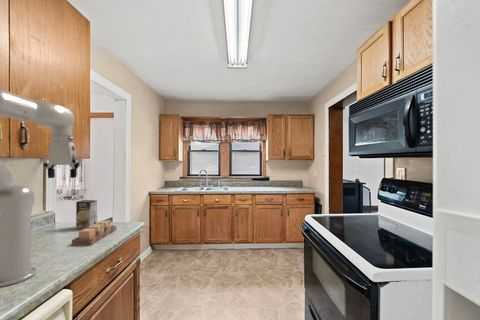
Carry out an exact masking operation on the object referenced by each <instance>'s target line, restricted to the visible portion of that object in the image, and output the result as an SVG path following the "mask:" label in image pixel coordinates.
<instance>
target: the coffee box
mask: <svg viewBox="0 0 480 320" xmlns="http://www.w3.org/2000/svg"><path fill="white" fill-rule="evenodd" d="M75 209H76V212H75V213H76V214H75V220H76V222H75V224H76V226H75V229H77V230H83V229H87V228H89V226H92V225H94V224H97V223H98V200H96V199H95V200H94V199H92V200H91V199H87V200H86V199H82V200H78V201H76V206H75Z"/></svg>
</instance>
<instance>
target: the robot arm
mask: <svg viewBox="0 0 480 320" xmlns="http://www.w3.org/2000/svg"><path fill="white" fill-rule="evenodd" d="M0 117H5V118H8V119H12V120H13V119H14V120H17V121H22V122H30V123H35V124H36V125H38V126H40V127H45V128H46V127H47V128H48V127H51V142H50V144H49V148H48V153H47V154H48V155H47V156H46V157H44V158H42V159H41V161H42V164H43V166H44V167H45V168H46V170H47V178H48V179H53V178H55V175H56V174H55V170H56V169H55V167H56V166H59V165H60V166H61V165H62V166H66V165H67V166H69V167H70V169H69V170H70V171H69V172H70V173H69V175H70V176H69V177H70V179H75V178H77V176H78V175H77V174H78V171H77V170H78V169H79V167H81V165H82V162H83V160H84V159H83V158H82V157H79V156H78V154H77V147H76V144H75V143H74V141H75V140H76V138H75V137H74V136H73V124H74V123H75V114H74V113H73V111H72V110H70V109H69V108H67V107H65V106H62V105H59V104H55V103H51V102H47V101H42V100H38V99H32V98H28V97H25V96H22V95H20V94H18V93H14V92H11V91H9V90H6V89H4V88H0ZM13 179H14V177H13V175H12V174H11V171H10V170H9V169H8V168H7V166H6V165H5V164H4V163H3V161H2V160H1V159H0V287H5V286H9V285H10V286H11V285H14V284H17V283H20V282H24V281H26V280H28V279H30V278H32V277H33V276H35V275H36V274H37V270H38V269H37V267H35V266H31V265H32V262H31V259H32V258H31V257H32V256H31V254H32V253H31V251H32V249H31V247H32V246H31V245H32V241H31V240H32V239H31V238H32V236H31V233H32V232H31V230H32V228H31V227H32V226H31V224H32V223H31V222H32V219H31V218H32V210H33V205H34V202H35V193H34V191H33V190H32V189H31V188H30V187H28V186H25V185H19V184H12V183H13Z"/></svg>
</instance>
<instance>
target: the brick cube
mask: <svg viewBox="0 0 480 320" xmlns="http://www.w3.org/2000/svg"><path fill="white" fill-rule="evenodd" d="M78 237H79V239H92V238H93V237H95V228H87V229H80V230H79V231H78Z"/></svg>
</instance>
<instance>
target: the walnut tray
mask: <svg viewBox="0 0 480 320" xmlns="http://www.w3.org/2000/svg"><path fill="white" fill-rule="evenodd" d="M89 228H95V237H93V238H92V239H79V236H78V237H75V238H73V239H72V240H71V246H92V245H94V244H96V243H98V242H99V241H100V240H101V241H102V239H104V238H106V237H107V236H109V235H111V234H113V233H114V232H115V231H116V230H117V225H112V220H111V219H110V220H100V221H97V224H94V225H92V226H89Z"/></svg>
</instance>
